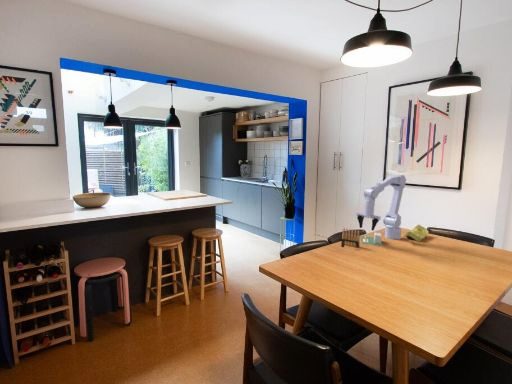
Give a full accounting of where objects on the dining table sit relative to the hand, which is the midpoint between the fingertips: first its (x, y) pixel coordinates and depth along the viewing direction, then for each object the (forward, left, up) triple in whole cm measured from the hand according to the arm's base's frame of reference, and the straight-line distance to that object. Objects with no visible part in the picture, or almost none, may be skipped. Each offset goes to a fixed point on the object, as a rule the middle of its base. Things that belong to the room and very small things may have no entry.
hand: (366, 229), depth 182 cm
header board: (-4, -5, -10) cm, 12 cm away
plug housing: (-7, -4, -9) cm, 12 cm away
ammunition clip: (+9, +10, -11) cm, 17 cm away
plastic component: (-35, -30, -11) cm, 47 cm away
